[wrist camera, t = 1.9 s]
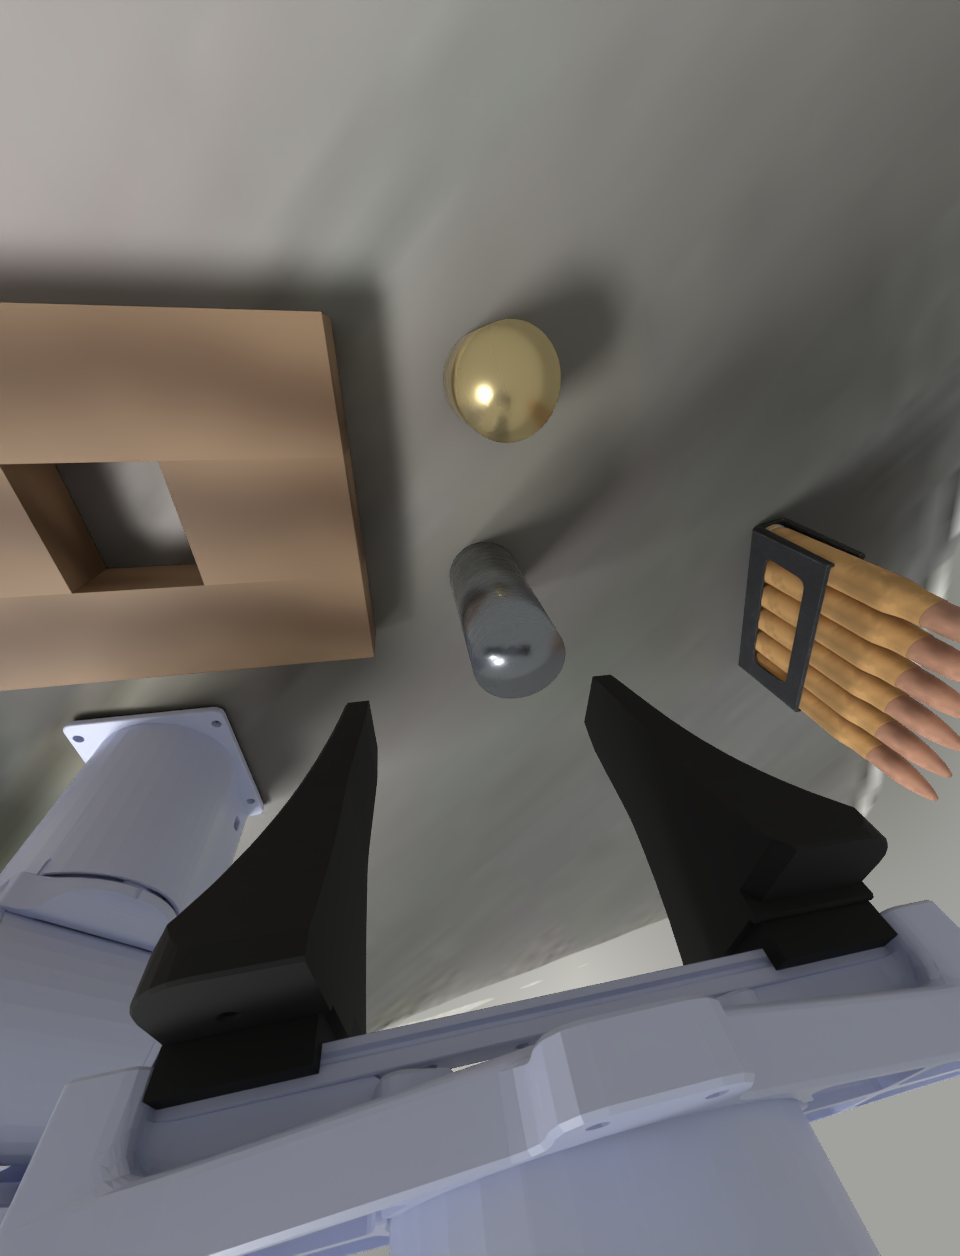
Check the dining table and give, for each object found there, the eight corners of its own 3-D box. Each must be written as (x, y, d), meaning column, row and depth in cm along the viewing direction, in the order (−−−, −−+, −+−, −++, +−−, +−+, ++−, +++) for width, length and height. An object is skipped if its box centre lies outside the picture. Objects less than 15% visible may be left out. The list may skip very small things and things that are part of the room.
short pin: (523, 426, 19) (555, 442, 15) (444, 427, 19) (457, 443, 15) (529, 329, 17) (566, 320, 13) (441, 328, 17) (455, 317, 13)
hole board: (375, 630, 23) (373, 657, 21) (1, 661, 21) (-44, 694, 19) (330, 318, 16) (321, 311, 14) (-262, 303, 13) (-386, 291, 11)
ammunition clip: (752, 526, 24) (1009, 642, 14) (783, 516, 24) (1062, 624, 14) (738, 665, 30) (911, 817, 20) (763, 657, 30) (948, 805, 20)
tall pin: (513, 601, 24) (559, 693, 17) (450, 606, 23) (472, 702, 17) (517, 540, 22) (570, 617, 15) (448, 544, 21) (473, 625, 15)
